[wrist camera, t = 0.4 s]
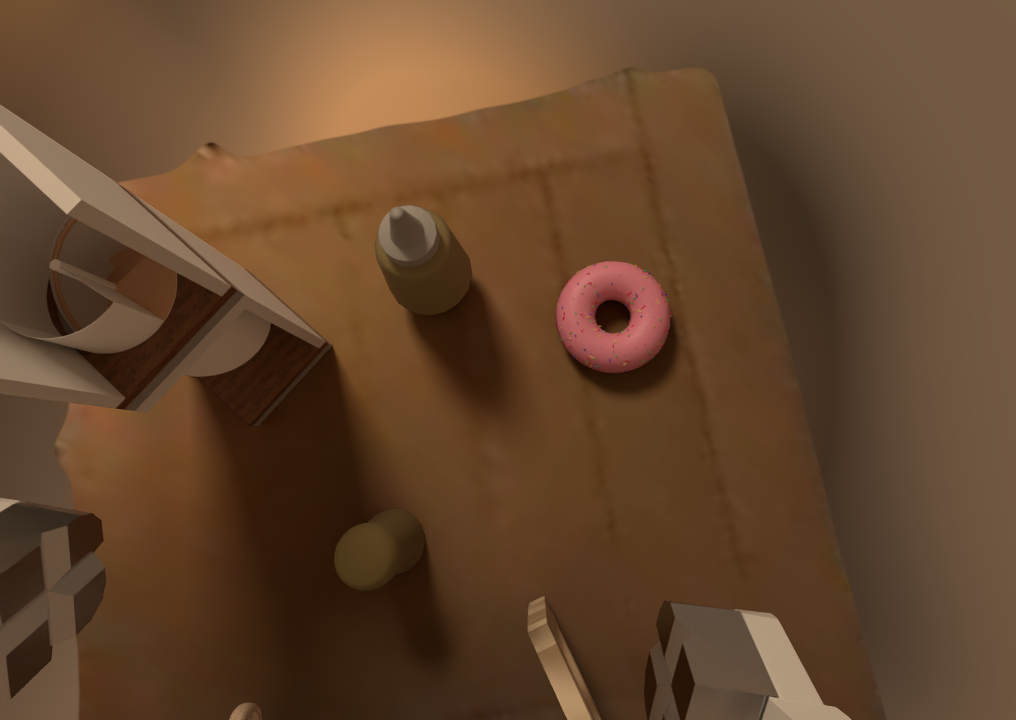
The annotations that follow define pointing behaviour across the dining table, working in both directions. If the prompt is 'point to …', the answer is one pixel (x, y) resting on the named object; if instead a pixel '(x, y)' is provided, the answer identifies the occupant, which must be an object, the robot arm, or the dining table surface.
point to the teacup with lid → (247, 712)
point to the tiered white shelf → (127, 295)
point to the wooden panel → (559, 663)
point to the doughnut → (588, 337)
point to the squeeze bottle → (422, 260)
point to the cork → (379, 549)
